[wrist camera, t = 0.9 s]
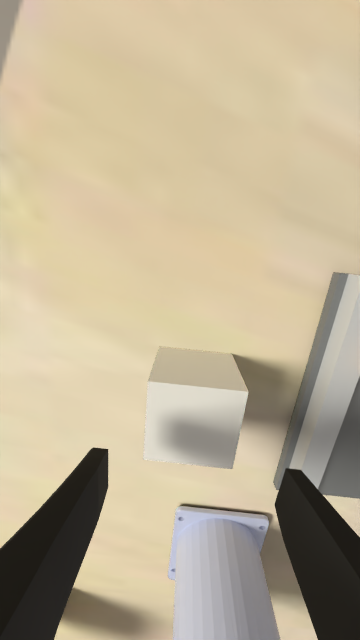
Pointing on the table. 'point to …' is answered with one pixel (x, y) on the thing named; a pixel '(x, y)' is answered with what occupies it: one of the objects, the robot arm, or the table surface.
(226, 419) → the block
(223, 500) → the table surface
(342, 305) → the rail mount
